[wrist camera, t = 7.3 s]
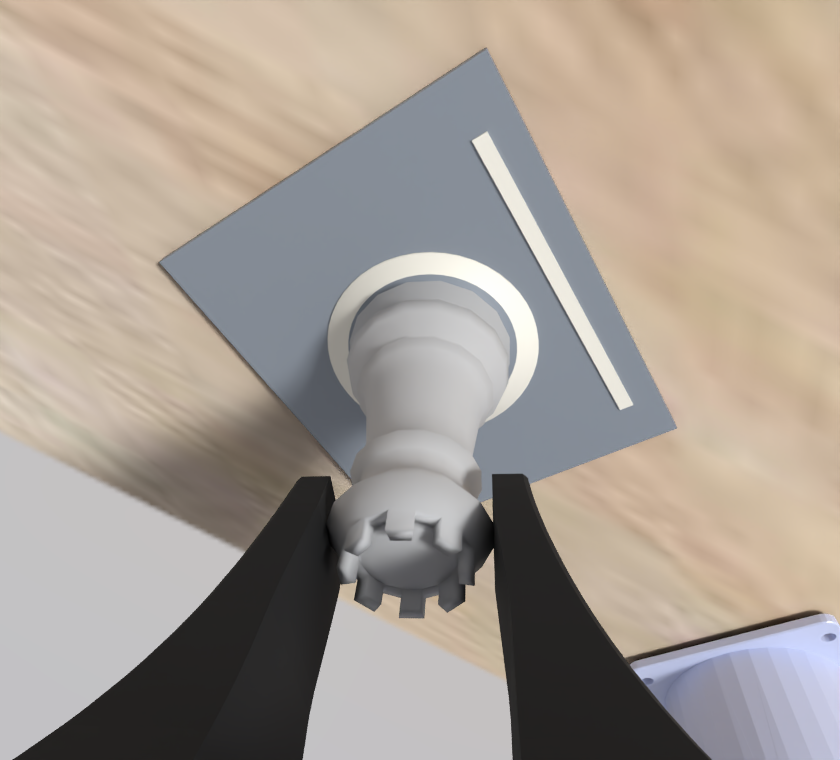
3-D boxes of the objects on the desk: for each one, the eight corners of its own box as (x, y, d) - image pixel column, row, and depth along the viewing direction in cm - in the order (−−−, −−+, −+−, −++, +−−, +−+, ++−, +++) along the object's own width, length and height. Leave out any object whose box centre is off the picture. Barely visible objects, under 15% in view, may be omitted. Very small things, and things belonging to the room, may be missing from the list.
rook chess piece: (347, 395, 20) (283, 631, 13) (357, 260, 17) (282, 469, 10) (494, 416, 20) (503, 661, 13) (525, 284, 17) (557, 507, 10)
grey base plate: (674, 421, 20) (677, 430, 19) (399, 526, 23) (398, 535, 23) (486, 47, 14) (486, 49, 14) (163, 257, 18) (157, 263, 17)
